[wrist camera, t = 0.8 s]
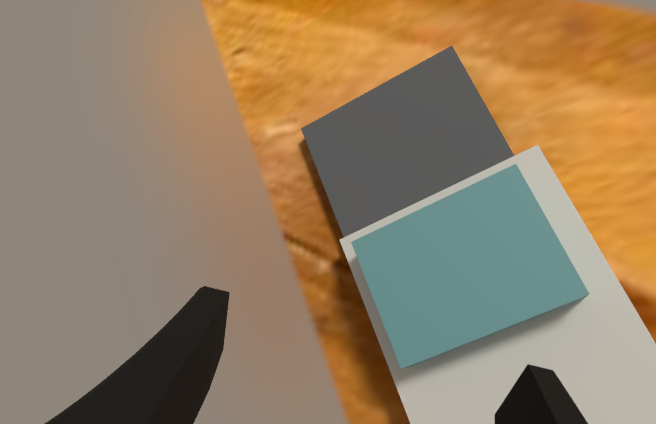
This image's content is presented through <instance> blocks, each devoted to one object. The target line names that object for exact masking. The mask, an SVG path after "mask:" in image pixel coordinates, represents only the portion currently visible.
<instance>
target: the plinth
mask: <svg viewBox="0 0 656 424" xmlns="http://www.w3.org/2000/svg"><path fill="white" fill-rule="evenodd" d="M514 164H517V166H518V168H519V170H520V172H521V173H522V175H523V177H524V179H525V180H526V182H527V184H528V186H529V188H530V189H531V191H532V193H533V195H534V196H535V198H536V200H537V202H538V203H539V205H540V207H541V209H542V211H543V212H544V214H545V216H546V218H547V219H548V221H549V223H550V225H551V227H552V228H553V230H554V232H555V234H556V235H557V237H558V239H559V241H560V243H561V244H562V246H563V248H564V250H565V251H566V253H567V255H568V257H569V258H570V260H571V262H572V264H573V266H574V267H575V269H576V271H577V273H578V274H579V276H580V278H581V280H582V282H583V283H584V285H585V287H586V289H587V290H588V292H589V295H588V296H587V297H585V298H584V299H581V300H579V301H576V302H574V303H571V304H569V305H566V306H564V307H561V308H558V309H556V310H553V311H551V312H548V313H546V314H543V315H541V316H538V317H536V318H533V319H531V320H528V321H526V322H523V323H521V324H518V325H515V326H513V327H510V328H508V329H505V330H503V331H500V332H498V333H495V334H493V335H490V336H488V337H485V338H483V339H480V340H477V341H475V342H472V343H470V344H467V345H465V346H462V347H460V348H457V349H455V350H452V351H450V352H447V353H445V354H442V355H439V356H437V357H434V358H432V359H429V360H427V361H424V362H422V363H419V364H417V365H414V366H412V367H408V368H403V369H401V368H400V365H399V363H398V360H397V357H396V355H395V352H394V350H393V347H392V345H391V342H390V340H389V337H388V335H387V332H386V330H385V327H384V325H383V322H382V319H381V317H380V314H379V312H378V309H377V307H376V304H375V302H374V299H373V297H372V294H371V292H370V289H369V287H368V284H367V281H366V279H365V276H364V274H363V271H362V269H361V266H360V264H359V261H358V259H357V256H356V254H355V251H354V249H353V246H352V243H351V242H352V241H354V240H356V239H358V238H360V237H362V236H365V235H367V234H369V233H371V232H373V231H375V230H377V229H379V228H381V227H384V226H386V225H388V224H390V223H392V222H394V221H396V220H398V219H400V218H402V217H405V216H407V215H409V214H411V213H413V212H415V211H417V210H419V209H421V208H424V207H426V206H428V205H430V204H432V203H434V202H436V201H438V200H440V199H442V198H445V197H447V196H449V195H451V194H453V193H455V192H457V191H459V190H461V189H464V188H466V187H468V186H470V185H472V184H474V183H476V182H478V181H480V180H482V179H485V178H487V177H489V176H491V175H493V174H495V173H497V172H499V171H501V170H504V169H506V168H508V167H510V166H512V165H514ZM340 243H341V245H342V248H343V251H344V253H345V256H346V258H347V261H348V263H349V266H350V269H351V271H352V274H353V276H354V279H355V282H356V284H357V287H358V289H359V292H360V295H361V297H362V300H363V302H364V305H365V308H366V310H367V313H368V315H369V318H370V320H371V323H372V326H373V328H374V331H375V333H376V336H377V339H378V341H379V344H380V346H381V349H382V352H383V354H384V357H385V359H386V362H387V365H388V367H389V370H390V372H391V375H392V377H393V380H394V383H395V385H396V388H397V390H398V393H399V396H400V398H401V401H402V403H403V406H404V409H405V411H406V414H407V416H408V419H409V421H410V424H495V413H496V412H497V410H498V409H499V407H500V406H501V404H502V403H503V401H504V399H505V398H506V396H507V395H508V393H509V392H510V390H511V389H512V387H513V386H514V384H515V383H516V381H517V380H518V378H519V377H520V375H521V374H522V372H523V371H524V369H525V368H526V366H527V364H529V365H533V366H538V367H542V368H546V369H550V370H553V371H554V372H555V374H556V375H557V377H558V378H559V380H560V381H561V383H562V384H563V386H564V387H565V389H566V390H567V392H568V393H569V395H570V396H571V398H572V400H573V401H574V403H575V404H576V406H577V407H578V409H579V410H580V412H581V413H582V415H583V416H584V418H585V420H586V421H587V423H588V424H656V343H655V342H654V340H653V338H652V337H651V335H650V333H649V332H648V330H647V328H646V327H645V325H644V323H643V322H642V320H641V318H640V316H639V315H638V313H637V311H636V310H635V308H634V306H633V305H632V303H631V301H630V300H629V298H628V296H627V295H626V293H625V291H624V289H623V288H622V286H621V284H620V283H619V281H618V279H617V278H616V276H615V274H614V273H613V271H612V269H611V267H610V266H609V264H608V262H607V261H606V259H605V257H604V256H603V254H602V252H601V251H600V249H599V247H598V246H597V244H596V242H595V240H594V239H593V237H592V235H591V234H590V232H589V230H588V229H587V227H586V225H585V224H584V222H583V220H582V219H581V217H580V215H579V213H578V212H577V210H576V208H575V207H574V205H573V203H572V202H571V200H570V198H569V197H568V195H567V193H566V192H565V190H564V188H563V186H562V185H561V183H560V181H559V180H558V178H557V176H556V175H555V173H554V171H553V170H552V168H551V166H550V164H549V163H548V161H547V159H546V158H545V156H544V154H543V153H542V151H541V149H540V148H539V146H538V145H536V146H534V147H532V148H530V149H528V150H525V151H523V152H521V153H519V154H517V155H515V156H513V157H511V158H509V159H507V160H505V161H503V162H500V163H498V164H496V165H494V166H492V167H490V168H488V169H486V170H484V171H482V172H480V173H478V174H475V175H473V176H471V177H469V178H467V179H465V180H463V181H461V182H459V183H457V184H455V185H452V186H450V187H448V188H446V189H444V190H442V191H440V192H438V193H436V194H434V195H432V196H430V197H427V198H425V199H423V200H421V201H419V202H417V203H415V204H413V205H411V206H409V207H407V208H404V209H402V210H400V211H398V212H396V213H394V214H392V215H390V216H388V217H386V218H384V219H382V220H379V221H377V222H375V223H373V224H371V225H369V226H367V227H365V228H363V229H361V230H359V231H356V232H354V233H352V234H350V235H348V236H346V237H344V238H342V239H340Z"/></svg>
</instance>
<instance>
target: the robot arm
mask: <svg viewBox="0 0 656 424" xmlns="http://www.w3.org/2000/svg"><path fill="white" fill-rule="evenodd" d="M228 301H229V292H226V291H222V290H218V289H214V288H210V287H206V286H204V287H202V288H200V289H199V290H198V291H197V292H196V293H195V295H194V296H193V297H192V298H191V299H190V300H189V301H188V302H187V303H186V305H185V306H184V307H183V308H182V309H181V310H180V311H179V312H178V313H177V314H176V315H175V316H174V317H173V318H172V319H171V320H170V321H169V322H168V323H167V324H166V325H165V326H164V327H163V328H162V329H161V330H160V331H159V332H158V333H157V334H156V335H155V336H154V337H153V338H152V339H150V340H149V341H148V342H147V343H146V344H145V345H144V346H143V347H142V348H141V349H140V350H139V351H138V352H136V354H135V355H133V356H132V357H131V358H130V359H129V360H127V361H126V362H125V363H124V364H122V365H121V366H120V367H119V368H118V369H117V370H116V371H114V372H113V373H112V374H111V375H110V376H108V377H107V378H106V379H105V380H104V381H102V382H101V383H100V384H98V385H97V386H96V387H95V388H93V389H92V390H91V391H90V392H88V393H87V394H86V395H84V396H83V397H82V398H80V399H79V400H78V401H77V402H75V403H74V404H72V405H71V406H69V407H68V408H67V409H65V410H64V411H63V412H61V413H60V414H58V415H57V416H55V417H54V418H52V419H51V420H50V421H48V422H47V423H45V424H193V423H194V421H195V419H196V417H197V415H198V412H199V410H200V408H201V406H202V404H203V402H204V400H205V397H206V395H207V393H208V391H209V389H210V386H211V383H212V380H213V377H214V374H215V372H216V369H217V366H218V362H219V359H220V357H221V354H222V351H223V346H224V337H225V328H226V319H227V310H228ZM495 424H588V423H587V421H586V420H585V418H584V416H583V415H582V413H581V412H580V410H579V409H578V407H577V406H576V404H575V403H574V401H573V400H572V398H571V396H570V395H569V393H568V392H567V390H566V389H565V387H564V386H563V384H562V383H561V381H560V380H559V378H558V377H557V375H556V374H555V372H554V371H553V370H550V369H546V368H542V367H538V366H533V365H529V364H527V366H526V368H525V369H524V371H523V372H522V374H521V375H520V377H519V378H518V380H517V381H516V383H515V384H514V386H513V387H512V389H511V390H510V392H509V393H508V395H507V396H506V398H505V399H504V401H503V403H502V404H501V406H500V407H499V409H498V410H497V412H496V413H495Z"/></svg>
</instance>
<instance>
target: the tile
mask: <svg viewBox="0 0 656 424" xmlns="http://www.w3.org/2000/svg"><path fill="white" fill-rule="evenodd" d="M351 243H352V246H353V249H354V251H355V254H356V256H357V259H358V261H359V264H360V266H361V269H362V271H363V274H364V276H365V279H366V281H367V284H368V287H369V289H370V292H371V294H372V297H373V299H374V302H375V304H376V307H377V309H378V312H379V314H380V317H381V319H382V322H383V325H384V327H385V330H386V332H387V335H388V337H389V340H390V342H391V345H392V347H393V350H394V352H395V355H396V357H397V360H398V363H399V365H400V368H401V369H403V368H408V367H412V366H414V365H417V364H419V363H422V362H424V361H427V360H429V359H432V358H434V357H437V356H439V355H442V354H445V353H447V352H450V351H452V350H455V349H457V348H460V347H462V346H465V345H467V344H470V343H472V342H475V341H477V340H480V339H483V338H485V337H488V336H490V335H493V334H495V333H498V332H500V331H503V330H505V329H508V328H510V327H513V326H515V325H518V324H521V323H523V322H526V321H528V320H531V319H533V318H536V317H538V316H541V315H543V314H546V313H548V312H551V311H553V310H556V309H558V308H561V307H564V306H566V305H569V304H571V303H574V302H576V301H579V300H581V299H584V298H585V297H587V296H588V295H589V292H588V290H587V289H586V287H585V285H584V283H583V282H582V280H581V278H580V276H579V274H578V273H577V271H576V269H575V267H574V266H573V264H572V262H571V260H570V258H569V257H568V255H567V253H566V251H565V250H564V248H563V246H562V244H561V243H560V241H559V239H558V237H557V235H556V234H555V232H554V230H553V228H552V227H551V225H550V223H549V221H548V219H547V218H546V216H545V214H544V212H543V211H542V209H541V207H540V205H539V203H538V202H537V200H536V198H535V196H534V195H533V193H532V191H531V189H530V188H529V186H528V184H527V182H526V180H525V179H524V177H523V175H522V173H521V172H520V170H519V168H518V166H517V164H514V165H512V166H510V167H508V168H506V169H504V170H501V171H499V172H497V173H495V174H493V175H491V176H489V177H487V178H485V179H482V180H480V181H478V182H476V183H474V184H472V185H470V186H468V187H466V188H464V189H461V190H459V191H457V192H455V193H453V194H451V195H449V196H447V197H445V198H442V199H440V200H438V201H436V202H434V203H432V204H430V205H428V206H426V207H424V208H421V209H419V210H417V211H415V212H413V213H411V214H409V215H407V216H405V217H402V218H400V219H398V220H396V221H394V222H392V223H390V224H388V225H386V226H384V227H381V228H379V229H377V230H375V231H373V232H371V233H369V234H367V235H365V236H362V237H360V238H358V239H356V240H354V241H352V242H351Z"/></svg>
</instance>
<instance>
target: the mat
mask: <svg viewBox="0 0 656 424" xmlns="http://www.w3.org/2000/svg"><path fill="white" fill-rule="evenodd" d="M301 130H302V132H303V135H304V137H305V140H306V143H307V145H308V148H309V150H310V153H311V155H312V158H313V161H314V163H315V166H316V168H317V171H318V173H319V176H320V178H321V181H322V184H323V186H324V189H325V191H326V194H327V196H328V199H329V202H330V204H331V207H332V209H333V212H334V214H335V217H336V219H337V222H338V225H339V227H340V230H341V232H342V235H343V237H346V236H348V235H350V234H352V233H354V232H356V231H359V230H361V229H363V228H365V227H367V226H369V225H371V224H373V223H375V222H377V221H379V220H382V219H384V218H386V217H388V216H390V215H392V214H394V213H396V212H398V211H400V210H402V209H404V208H407V207H409V206H411V205H413V204H415V203H417V202H419V201H421V200H423V199H425V198H427V197H430V196H432V195H434V194H436V193H438V192H440V191H442V190H444V189H446V188H448V187H450V186H452V185H455V184H457V183H459V182H461V181H463V180H465V179H467V178H469V177H471V176H473V175H475V174H478V173H480V172H482V171H484V170H486V169H488V168H490V167H492V166H494V165H496V164H498V163H500V162H503V161H505V160H507V159H509V158H511V157H513V156H514V155H513V153H512V151H511V149H510V148H509V146H508V144H507V142H506V141H505V139H504V137H503V135H502V133H501V132H500V130H499V128H498V126H497V125H496V123H495V121H494V119H493V118H492V116H491V114H490V112H489V110H488V109H487V107H486V105H485V103H484V102H483V100H482V98H481V96H480V95H479V93H478V91H477V89H476V88H475V86H474V84H473V82H472V80H471V79H470V77H469V75H468V73H467V72H466V70H465V68H464V66H463V65H462V63H461V61H460V59H459V57H458V56H457V54H456V52H455V50H454V49H453V47H452V46H450V47H449V48H447V49H445V50H443V51H441V52H439V53H438V54H436V55H434V56H432V57H430V58H429V59H427V60H425V61H423V62H421V63H419V64H418V65H416V66H414V67H412V68H410V69H409V70H407V71H405V72H403V73H401V74H399V75H398V76H396V77H394V78H392V79H390V80H389V81H387V82H385V83H383V84H381V85H380V86H378V87H376V88H374V89H372V90H370V91H369V92H367V93H365V94H363V95H361V96H360V97H358V98H356V99H354V100H352V101H350V102H349V103H347V104H345V105H343V106H341V107H340V108H338V109H336V110H334V111H332V112H331V113H329V114H327V115H325V116H323V117H321V118H320V119H318V120H316V121H314V122H312V123H311V124H309V125H307V126H305V127H303V128H301Z"/></svg>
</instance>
